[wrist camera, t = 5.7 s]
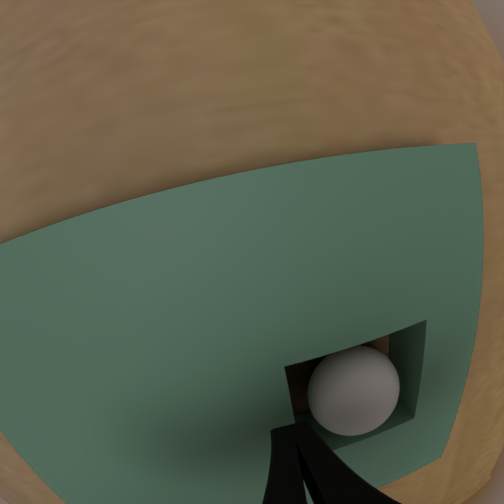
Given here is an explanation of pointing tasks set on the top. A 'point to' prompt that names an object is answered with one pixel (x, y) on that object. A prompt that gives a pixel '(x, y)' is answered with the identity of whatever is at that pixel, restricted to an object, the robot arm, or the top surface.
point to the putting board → (239, 323)
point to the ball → (353, 390)
